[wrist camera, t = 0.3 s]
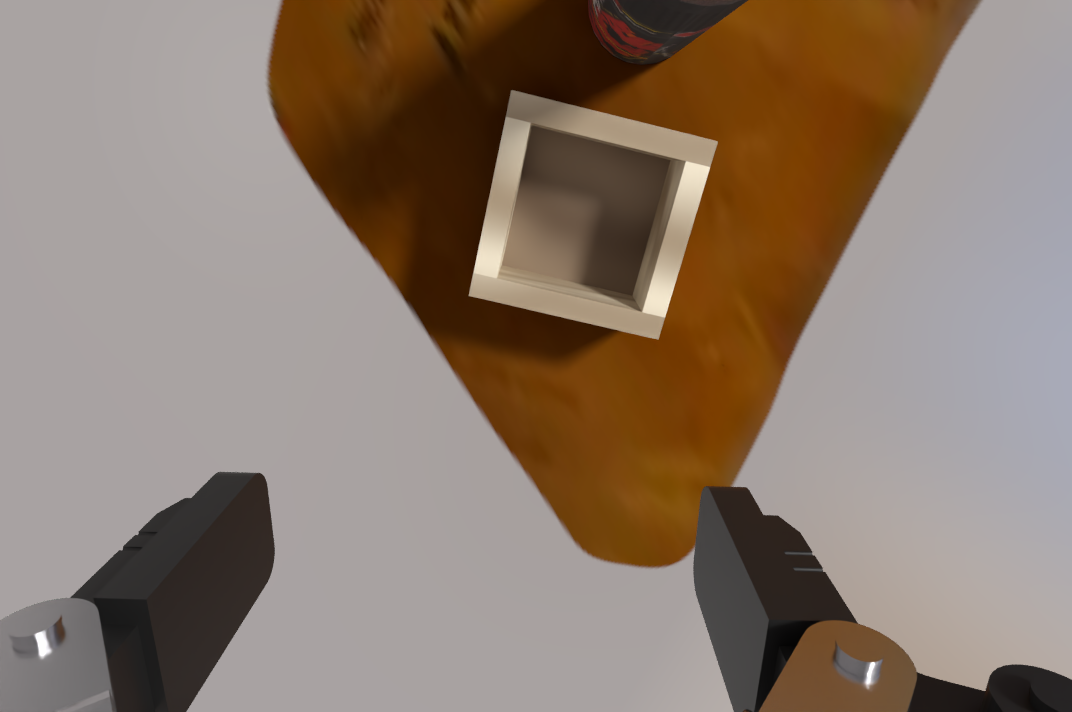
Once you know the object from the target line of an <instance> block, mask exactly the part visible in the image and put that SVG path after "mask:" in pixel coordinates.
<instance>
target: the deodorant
mask: <svg viewBox="0 0 1072 712" xmlns="http://www.w3.org/2000/svg"><path fill="white" fill-rule="evenodd" d="M746 1H748V0H588V9H589V18H590V22H591V25H592V28H593V31H594V33H595V35H596V36H597V38H598V40H599V41H600V43H601V45H602V46H603V47H604V48H605V49H607V50H608V51H609V52H610V53H611V54H612V55H613V56H615V57H617V58H619V59H621V60H623V61H625V62H628V63H634V64H639V65H643V64H654V63H657V62H660V61H662V60H665V59H668V58H670V57H671V56H672V55H674V54H675V53H677V52H678V51H679V50H681V49H682V48H683V47H685V46H686V45H688V44H689V43H690V42H692V41H693V40H694V39H696V38H697V37H698V36H700V35H701V34H703V33H704V32H705V31H707V30H708V29H709V28H711V27H712V26H713V25H715V24H716V23H718V22H719V21H720V20H722V19H723V18H724V17H726V16H727V15H729V14H730V13H731V12H733V11H734V10H735V9H737V8H738V7H739V6H741V5H742V4H744V3H745V2H746Z"/></svg>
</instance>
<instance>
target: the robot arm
mask: <svg viewBox="0 0 1072 712" xmlns="http://www.w3.org/2000/svg"><path fill="white" fill-rule="evenodd" d="M274 554H275V548H274V538H273V530H272V521H271V513H270V504H269V497H268V488H267V482H266V479H265V477H264V476H263V475H262V474H261V473H238V472H237V473H236V472H218V473H216V474H215V475H214V476H213V477H212V478H211V479H210V480H209V481H208V482H207V483H206V484H205V485H204V486H203V487H202V488H201V489H200V490H199V491H198V492H197V493H196V494H195V495H194V496H193V497H192V498H185V499H183V500H181V501H179V502H177V503H175V504H174V505H172V506H170V507H168V508H166V509H165V510H163V511H161V512H159V513H157V514H156V515H155V516H154V517H153V518H152V519H151V520H150V521H149V522H148V523H147V524H146V525H145V526H144V527H143V528H142V529H141V530H140V531H139V534H138V535H135V536H134V537H133V538H132V539H131V540H129V541H128V542H127V543H126V544H125V545H124V546H123V550H122V551H121V550H119V551H118V552H117V553H116V554H115V555H114V556H113V557H112V558H111V559H110V560H109V561H108V562H107V563H106V564H105V565H104V566H103V567H102V568H101V569H99V570H98V571H97V572H96V574H94V575H93V576H92V577H91V578H90V579H89V580H88V581H87V582H86V583H85V584H84V585H83V586H82V587H81V588H80V589H79V590H78V591H77V592H76V593H75V594H74V595H73V596H72V597H71V598H62V599H54V600H49V601H45V602H41V603H38V604H34V605H31V606H29V607H26V608H24V609H21V610H19V611H16V612H14V613H12V614H11V615H9V616H7V617H5V618H3V619H2V620H0V712H186V711H187V710H188V708H189V706H190V705H191V703H192V702H193V700H194V698H195V697H196V695H197V694H198V692H199V690H200V689H201V687H202V686H203V684H204V683H205V681H206V679H207V678H208V676H209V675H210V673H211V671H212V670H213V668H214V667H215V665H216V663H217V662H218V660H219V659H220V657H221V655H222V654H223V652H224V651H225V649H226V647H227V646H228V644H229V643H230V641H231V639H232V638H233V636H234V635H235V633H236V632H237V630H238V628H239V626H240V625H241V624H242V622H243V620H244V619H245V617H246V616H247V614H248V612H249V611H250V609H251V608H252V606H253V604H254V603H255V601H256V600H257V598H258V596H259V595H260V593H261V592H262V590H263V589H264V587H265V585H266V584H267V582H268V580H269V578H270V575H271V572H272V568H273V563H274ZM694 584H695V591H696V595H697V598H698V602H699V605H700V608H701V611H702V614H703V617H704V620H705V623H706V627H707V630H708V633H709V636H710V639H711V642H712V645H713V648H714V651H715V654H716V657H717V660H718V664H719V667H720V670H721V673H722V676H723V679H724V682H725V685H726V688H727V691H728V694H729V698H730V701H731V704H732V706H733V710H734V712H1072V680H1071V679H1069V678H1067V677H1065V676H1062V675H1060V674H1057V673H1055V672H1052V671H1049V670H1045V669H1042V668H1038V667H1034V666H1028V665H1006V666H1002V667H1000V668H997V669H996V670H995V671H993V672H992V674H991V675H990V677H989V681H988V684H987V688H986V691H982V690H978V689H974V688H970V687H966V686H962V685H959V684H955V683H950V682H947V681H943V680H939V679H935V678H932V677H929V676H925V675H923V674H920V673H918V672H916V668H915V666H914V663H913V662H912V660H911V659H910V657H909V656H908V654H906V652H905V651H904V650H903V649H902V648H901V647H900V646H899V645H898V644H896V643H895V642H894V641H892V640H891V639H890V638H888V637H886V636H885V635H883V634H881V633H880V632H878V631H875V630H873V629H871V628H869V627H866V626H863V625H860V624H858V623H857V621H856V620H855V618H854V617H853V615H852V613H851V612H850V610H849V609H848V607H847V606H846V604H845V602H844V601H843V599H842V598H841V596H840V595H839V593H838V591H837V590H836V588H835V587H834V585H833V584H832V582H831V580H830V579H829V577H828V576H827V574H826V573H825V572H823V570H822V566H821V565H820V564H819V562H818V560H817V559H816V557H815V556H813V555H812V551H811V549H810V547H809V546H808V544H807V543H806V541H805V540H804V538H803V536H802V535H801V533H800V532H799V531H797V530H796V529H795V528H793V527H792V526H791V525H789V524H788V523H787V522H785V521H784V520H783V519H782V518H780V517H779V516H771V515H767V516H766V515H763V514H762V512H761V511H760V508H759V507H758V505H757V503H756V502H755V500H754V498H753V496H752V495H751V493H750V491H749V490H748V489H747V488H746V487H714V486H706V487H704V489H703V491H702V494H701V500H700V509H699V518H698V527H697V536H696V545H695V554H694Z"/></svg>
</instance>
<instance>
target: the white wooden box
mask: <svg viewBox="0 0 1072 712" xmlns="http://www.w3.org/2000/svg"><path fill="white" fill-rule="evenodd" d="M717 143H718V141H714V140H710V139H706V138H702V137H698V136H694V135H690V134H686V133H682V132H678V131H674V130H670V129H666V128H662V127H658V126H654V125H650V124H646V123H642V122H638V121H634V120H630V119H626V118H622V117H618V116H614V115H610V114H606V113H602V112H598V111H594V110H590V109H586V108H582V107H578V106H574V105H570V104H566V103H562V102H558V101H554V100H550V99H546V98H542V97H538V96H534V95H530V94H526V93H522V92H518V91H514V90H511V94H510V99H509V104H508V109H507V113H506V118H505V123H504V128H503V133H502V138H501V142H500V147H499V152H498V157H497V162H496V166H495V171H494V176H493V181H492V186H491V191H490V195H489V200H488V205H487V210H486V215H485V219H484V224H483V229H482V234H481V239H480V244H479V248H478V253H477V258H476V263H475V268H474V272H473V277H472V282H471V287H470V292H469V296H472V297H476V298H480V299H485V300H489V301H493V302H498V303H502V304H506V305H511V306H515V307H519V308H524V309H528V310H532V311H537V312H541V313H545V314H550V315H554V316H558V317H563V318H567V319H571V320H576V321H580V322H584V323H589V324H593V325H597V326H602V327H606V328H610V329H615V330H619V331H623V332H628V333H632V334H636V335H641V336H645V337H649V338H654V339H659V336H660V332H661V329H662V326H663V322H664V319H665V316H666V312H667V309H668V306H669V302H670V299H671V296H672V292H673V289H674V286H675V282H676V279H677V276H678V273H679V269H680V266H681V263H682V259H683V256H684V253H685V249H686V246H687V243H688V239H689V236H690V233H691V229H692V226H693V223H694V219H695V216H696V213H697V209H698V206H699V203H700V199H701V196H702V193H703V189H704V186H705V183H706V179H707V176H708V173H709V169H710V166H711V163H712V159H713V156H714V153H715V149H716V146H717Z"/></svg>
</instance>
